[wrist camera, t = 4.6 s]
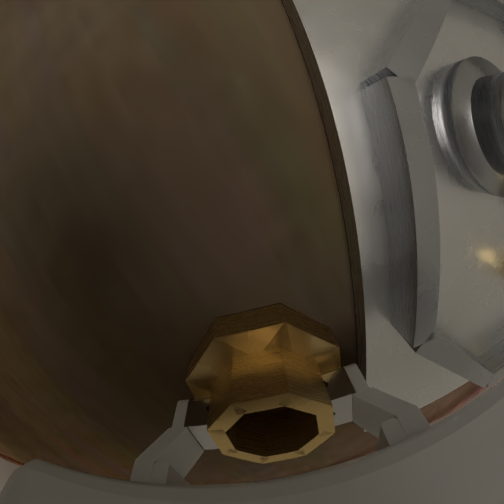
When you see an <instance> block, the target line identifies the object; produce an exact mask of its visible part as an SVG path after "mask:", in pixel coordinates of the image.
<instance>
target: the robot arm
mask: <svg viewBox="0 0 504 504" xmlns="http://www.w3.org/2000/svg"><path fill="white" fill-rule="evenodd" d="M321 375H322V378H323V381H324V384H325V386H326V389H327V392H328V394H329V397H330V400H331V403H332V406H333V414H334V426H337V425H340V424H344V423H347V422H351V421H353V422H354V423H356V424H357V425H359V426H360V427H362V428H363V429H365V430H366V431H368V432H369V433H371V434H372V435H374V436H375V437H377V438H379V439H378V444H377V449H376V451H375V452H373V453H370V454H367V455H365V456H362V457H359V458H356V459H353V460H350V461H347V462H344V463H340V464H337V465H333V466H330V467H326V468H322V469H319V470H315V471H310V472H306V473H302V474H297V475H292V476H287V477H281V478H275V479H269V480H262V481H254V482H245V483H234V484H219V485H191V484H190V483H188V482H187V481H186V480H185V479H184V478H185V477H186V475H187V474H188V473H189V471H190V470H191V469H192V467H193V466H194V465H195V463H196V462H197V460H198V459H199V458H200V456H201V455H202V453H203V452H204V450H210V449H219V448H218V447H217V445H216V444H215V442H214V441H213V440H212V438H211V437H210V435H209V434H208V432H207V422H208V412H209V403H210V397H208V398H198V399H189V400H179V401H178V403H177V406H176V410H175V415H174V419H173V424H172V428H168V429H167V430H166V431H165V432H164V433H163V434H162V435H161V436H160V437H159V438H158V439H157V440H156V441H155V442H153V443H152V444H151V445H150V446H149V447H148V448H147V449H146V450H145V451H144V452H143V453H142V454H141V455H139V456H138V457H137V458H136V459H135V462H134V466H133V470H132V473H131V477H130V480H129V481H128V480H121V479H115V478H109V477H104V476H99V475H94V474H90V473H85V472H81V471H77V470H74V469H70V468H66V467H63V466H60V465H56V464H53V463H50V462H47V461H44V460H41V459H33V460H31V461H29V462H27V463H26V464H24V465H23V466H21V467H19V468H18V469H17V470H15V471H14V472H13V473H12V475H11V476H10V478H9V479H8V481H7V483H6V484H5V486H4V488H3V490H2V491H1V493H0V504H504V379H502V380H501V381H500V382H498V383H497V384H496V385H495V386H493V387H492V388H490V389H489V390H488V391H486V392H485V393H484V394H482V395H481V396H479V397H478V398H477V399H475V400H474V401H472V402H471V403H469V404H468V405H466V406H465V407H463V408H461V409H460V410H458V411H457V412H455V413H453V414H452V415H450V416H448V417H447V418H445V419H443V420H441V421H440V422H438V423H436V424H434V425H432V426H430V425H429V424H428V422H427V421H426V419H425V417H424V416H423V414H422V413H421V411H420V409H419V408H418V406H416V405H413V404H411V403H409V402H406V401H404V400H401V399H399V398H397V397H394V396H392V395H389V394H387V393H385V392H383V391H380V390H378V389H376V388H374V387H372V388H369V386H368V385H367V383H366V381H365V379H364V377H363V375H362V374H361V372H360V370H359V368H358V366H357V364H355V363H354V364H351V365H348V366H345V367H342V368H339V369H335V370H332V371H329V372H326V373H322V374H321Z"/></svg>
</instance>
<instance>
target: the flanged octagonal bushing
mask: <svg viewBox="0 0 504 504" xmlns="http://www.w3.org/2000/svg"><path fill="white" fill-rule="evenodd" d="M339 368H341V359H340V347H339V345H338V343H337V341H336V339H335V337H334V336H333V334H332V332H331V330H330V328H328V327H326V326H324V325H322V324H320V323H318V322H316V321H314V320H312V319H310V318H308V317H306V316H304V315H302V314H300V313H298V312H296V311H294V310H292V309H290V308H288V307H286V306H284V305H282V304H281V303H279V304H275V305H271V306H267V307H263V308H259V309H255V310H250V311H246V312H242V313H237V314H233V315H229V316H224V317H219V318H216V320H215V322H214V323H213V325H212V326H211V328H210V330H209V331H208V333H207V334H206V336H205V338H204V339H203V341H202V342H201V344H200V345H199V347H198V349H197V350H196V352H195V353H194V355H193V356H192V358H191V359H190V363H189V367H188V371H187V376H186V380H185V382H186V383H187V385H188V387H189V388H190V390H191V392H192V394H193V396H194V397H195V399H198V398H208V397H210V403H209V412H208V422H207V432H208V434H209V435H210V437H211V438H212V440H213V441H214V442H215V444H216V445H217V447H218V448H219V450H220V451H221V452H222V454H223V455H227V456H231V457H235V458H239V459H243V460H247V461H252V462H256V463H261V464H262V463H263V464H264V463H270V462H276V461H281V460H286V459H291V458H296V457H301V456H305V455H307V454H308V453H310V452H311V451H312V450H314V449H315V448H316V447H318V446H319V445H320V444H321V443H323V442H324V441H325V440H327V439H328V438H329V437H330V436H332V435H333V434H334V433H335V427H334V414H333V406H332V403H331V400H330V397H329V394H328V392H327V389H326V386H325V384H324V381H323V378H322V375H321V374H322V373H326V372H329V371H332V370H335V369H339Z"/></svg>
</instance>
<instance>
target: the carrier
mask: <svg viewBox="0 0 504 504" xmlns="http://www.w3.org/2000/svg"><path fill="white" fill-rule="evenodd" d="M282 3H283V5H284V7H285V10H286V12H287V15H288V17H289V19H290V22H291V25H292V27H293V30H294V32H295V35H296V38H297V40H298V43H299V46H300V49H301V51H302V54H303V57H304V60H305V63H306V66H307V69H308V72H309V75H310V78H311V81H312V85H313V88H314V91H315V95H316V98H317V101H318V105H319V108H320V112H321V116H322V119H323V123H324V127H325V131H326V135H327V139H328V143H329V147H330V151H331V156H332V160H333V165H334V169H335V174H336V179H337V184H338V189H339V194H340V199H341V205H342V210H343V216H344V222H345V228H346V235H347V242H348V249H349V256H350V264H351V272H352V281H353V291H354V302H355V314H356V328H357V347H358V368H359V370H360V372H361V374H362V375H363V377H364V379H365V381H366V383H367V385H368V386H369V388H372V387H374V388H376V389H378V390H380V391H383V392H385V393H387V394H389V395H392V396H394V397H397V398H399V399H401V400H404V401H406V402H409V403H411V404H413V405H416V406H418V408H419V409H420V408H422V407H424V406H426V405H428V404H430V403H431V402H433V401H435V400H437V399H439V398H441V397H443V396H444V395H446V394H448V393H450V392H451V391H453V390H455V389H456V388H458V387H460V386H461V385H463V384H464V383H466V382H468V381H471V382H473V383H475V384H477V385H479V386H481V387H483V388H485V387H488V386H489V385H491V384H492V383H493V382H495V381H496V380H497V379H499V378H500V377H501V376H502V375H504V0H282ZM362 429H363V428H362ZM363 432H366V430H365V429H363Z"/></svg>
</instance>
